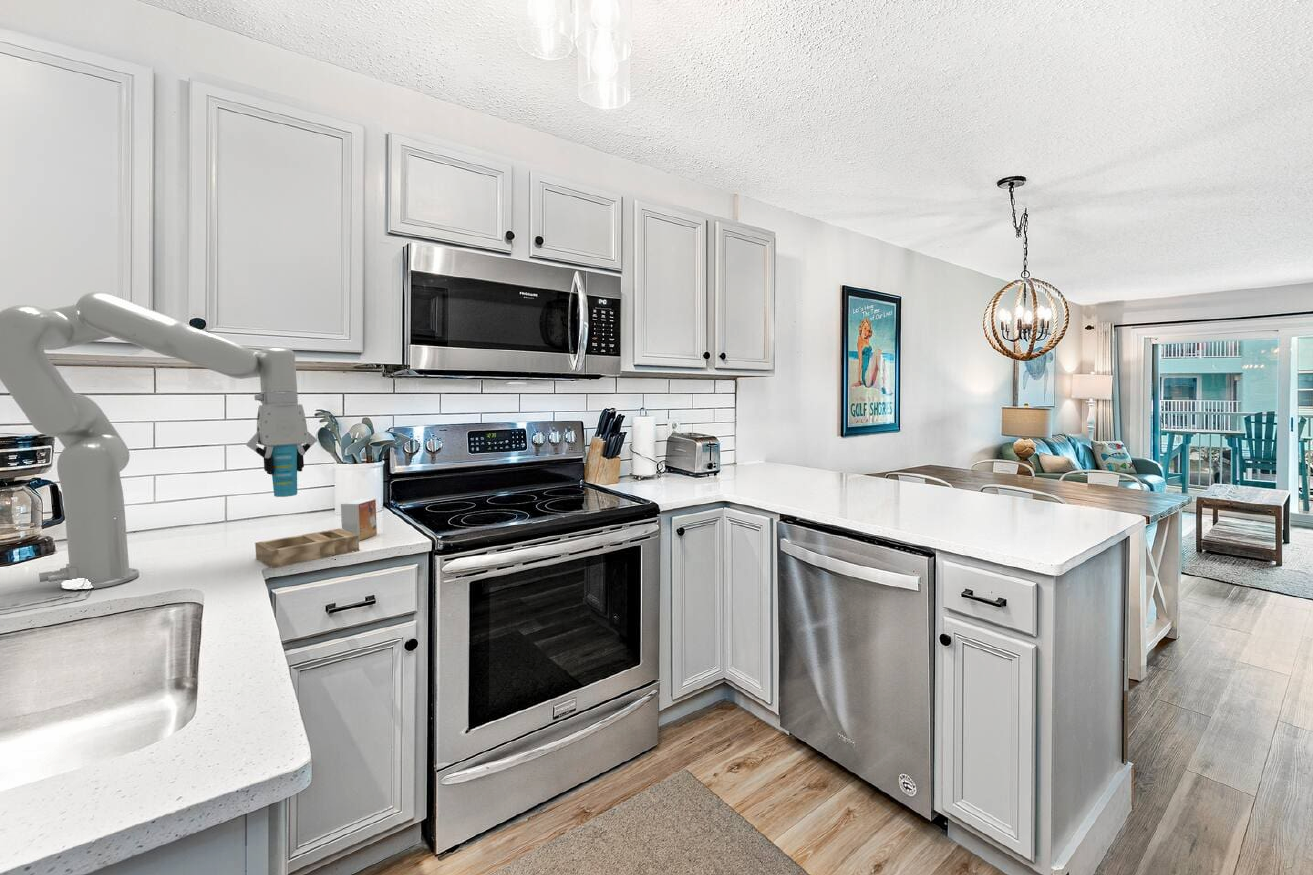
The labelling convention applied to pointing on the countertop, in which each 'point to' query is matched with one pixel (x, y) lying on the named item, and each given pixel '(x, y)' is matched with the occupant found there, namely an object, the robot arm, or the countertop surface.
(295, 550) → the holder block
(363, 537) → the small box
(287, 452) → the tube
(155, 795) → the countertop surface
